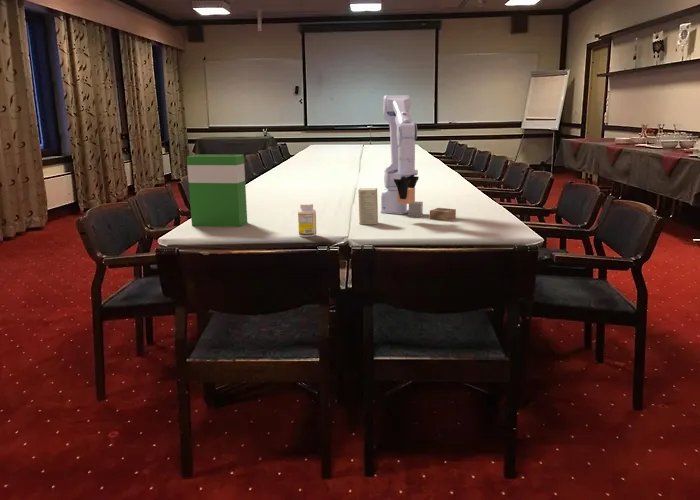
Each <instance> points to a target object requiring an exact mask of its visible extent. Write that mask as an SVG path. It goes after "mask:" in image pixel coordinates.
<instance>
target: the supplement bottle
mask: <svg viewBox="0 0 700 500" xmlns="http://www.w3.org/2000/svg"><path fill="white" fill-rule="evenodd" d="M316 213H317V210H316V209H314V203H312V202H302V203H301V202H300V209H299V210H298V211H297V215H298V216H297V217H298V220H297V221H298V235H299V237H300V238H301V237H302V238H313V237H315V236H316V235H317V214H316Z"/></svg>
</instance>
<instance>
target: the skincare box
mask: <svg viewBox="0 0 700 500" xmlns="http://www.w3.org/2000/svg"><path fill="white" fill-rule="evenodd" d="M378 210H379V209H378V187H371V188H369V187H368V188H367V187H366V188H365V187H363V188H362V187H361V188H359V189H358V212H359V213H358V215H359V216H358V217H359V220H358V221H359V225H377V224H378V223H379V221H378V220H379V216H378V215H379V211H378Z"/></svg>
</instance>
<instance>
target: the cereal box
mask: <svg viewBox="0 0 700 500" xmlns="http://www.w3.org/2000/svg"><path fill="white" fill-rule="evenodd" d="M186 167H187V168H186V169H187V178H188V179H187V180H188V190H189V191H188V192H189V205H190V218H191V226H192V227H223V228H224V227H225V228H226V227H230V228H232V227H234V228H240V227H242V226H245V225H246V224H248V210H247V209H248V207H247V193H246V192H247V191H246V188H247V187H246V172H245V171H246V170H245V156H244V154H195V155H188V156H186Z"/></svg>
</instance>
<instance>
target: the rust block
mask: <svg viewBox="0 0 700 500" xmlns="http://www.w3.org/2000/svg"><path fill="white" fill-rule="evenodd" d="M415 199H416V187H415V188H408V190H407V197H406V199H400V197H399V192H398V203H403V204H407V205H409V204H411V203H414V202H416V200H415Z"/></svg>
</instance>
